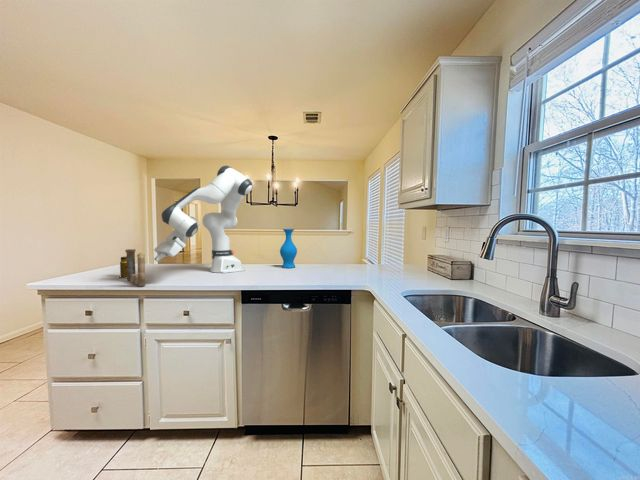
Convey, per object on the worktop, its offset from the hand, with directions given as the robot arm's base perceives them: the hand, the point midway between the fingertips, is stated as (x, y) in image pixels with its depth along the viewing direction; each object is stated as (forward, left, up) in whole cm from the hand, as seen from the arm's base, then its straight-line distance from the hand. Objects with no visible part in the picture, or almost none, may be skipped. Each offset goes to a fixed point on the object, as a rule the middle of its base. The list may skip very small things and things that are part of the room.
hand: (156, 260), depth 149 cm
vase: (-84, -17, -13) cm, 87 cm away
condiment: (+16, -30, -13) cm, 37 cm away
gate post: (+12, -17, -13) cm, 24 cm away
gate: (+9, -5, -12) cm, 16 cm away
